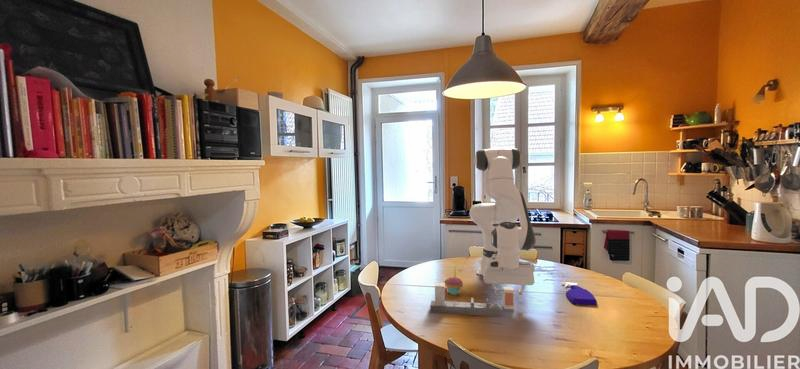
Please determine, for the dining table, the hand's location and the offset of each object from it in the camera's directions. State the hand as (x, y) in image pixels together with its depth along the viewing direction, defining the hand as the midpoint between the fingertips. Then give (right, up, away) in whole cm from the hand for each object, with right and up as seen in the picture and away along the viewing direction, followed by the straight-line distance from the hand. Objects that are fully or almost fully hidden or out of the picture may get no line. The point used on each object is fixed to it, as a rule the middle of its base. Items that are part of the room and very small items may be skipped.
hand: (508, 294), depth 141 cm
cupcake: (-20, -5, +18) cm, 27 cm away
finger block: (0, -6, +1) cm, 6 cm away
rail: (-19, -6, -3) cm, 20 cm away
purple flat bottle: (+35, -5, +13) cm, 38 cm away
